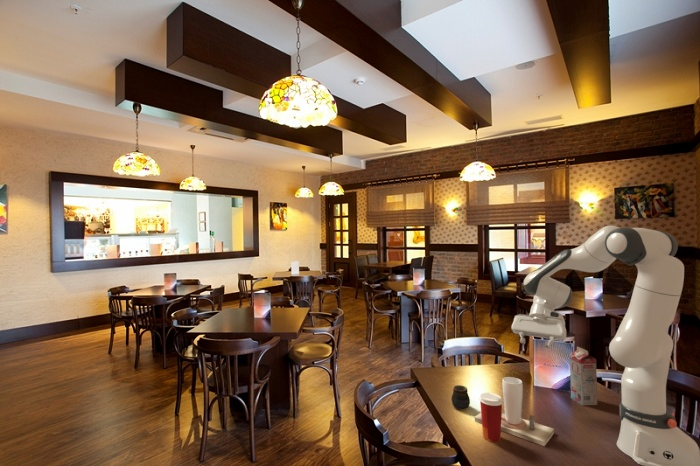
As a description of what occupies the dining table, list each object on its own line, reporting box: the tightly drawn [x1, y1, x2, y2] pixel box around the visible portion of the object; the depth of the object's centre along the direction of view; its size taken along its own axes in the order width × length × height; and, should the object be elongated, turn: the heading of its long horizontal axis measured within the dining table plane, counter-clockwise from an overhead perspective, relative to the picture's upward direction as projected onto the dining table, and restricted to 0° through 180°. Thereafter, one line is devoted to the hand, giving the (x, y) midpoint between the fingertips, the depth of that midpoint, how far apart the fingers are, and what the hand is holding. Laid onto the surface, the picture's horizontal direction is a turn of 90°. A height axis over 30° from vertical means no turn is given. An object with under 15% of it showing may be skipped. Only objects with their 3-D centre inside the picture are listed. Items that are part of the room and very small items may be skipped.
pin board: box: [474, 411, 555, 447], centre depth 130 cm, size 24×11×6 cm, turn 46°
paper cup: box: [478, 392, 504, 443], centre depth 123 cm, size 8×8×14 cm
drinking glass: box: [501, 376, 524, 425], centre depth 130 cm, size 7×7×15 cm
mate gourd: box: [451, 384, 471, 411], centre depth 145 cm, size 7×8×10 cm
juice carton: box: [569, 346, 598, 406], centre depth 150 cm, size 7×7×22 cm
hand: (534, 344), depth 144 cm, fingers open, 8 cm apart
